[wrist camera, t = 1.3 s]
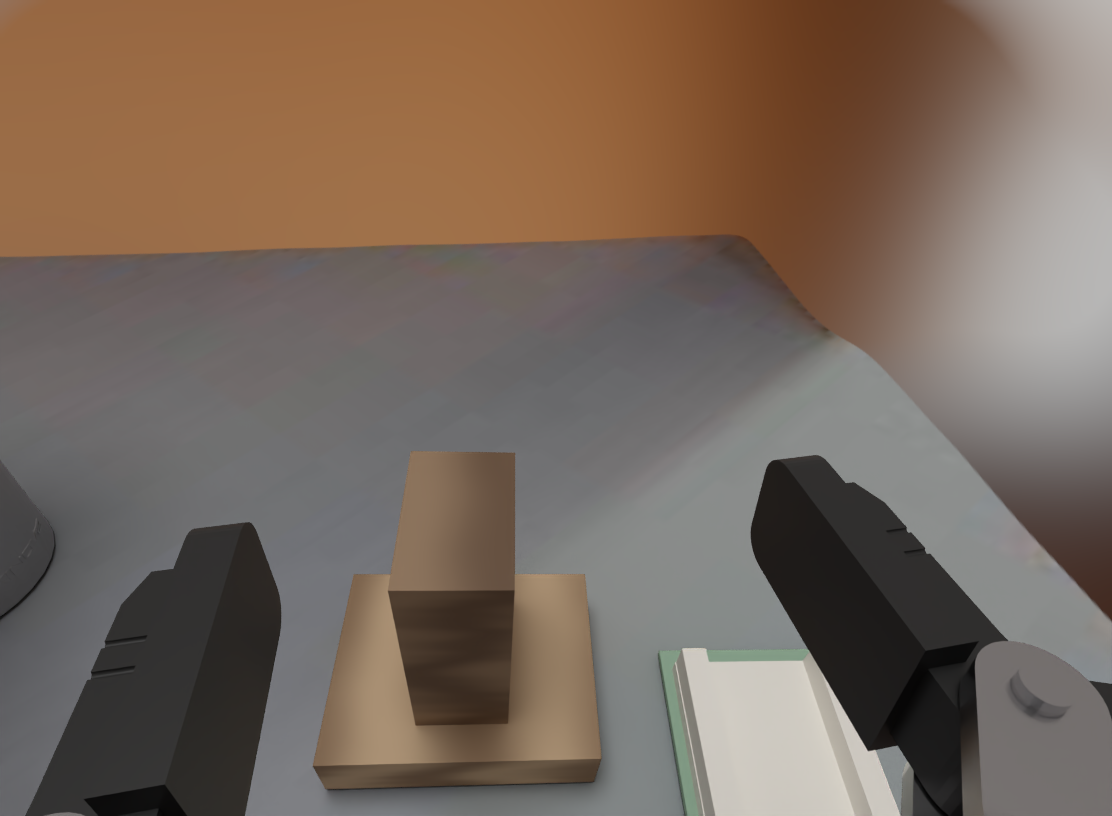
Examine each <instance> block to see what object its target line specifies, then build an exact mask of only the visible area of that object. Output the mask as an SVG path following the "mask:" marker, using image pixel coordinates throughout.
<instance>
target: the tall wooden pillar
mask: <svg viewBox="0 0 1112 816" xmlns="http://www.w3.org/2000/svg"><path fill="white" fill-rule="evenodd" d="M388 594H389V599H390V604H391V609H392V614H393V619H394V623H395V628H396V633H397V638H398V643H399V648H400V652H401V657H402V662H403V667H404V672H405V677H406V682H407V686H408V691H409V696H410V701H411V706H412V711H413V715H414V720H415V725H416V726H425V725H474V724H508V714H509V694H510V674H511V655H512V635H513V615H514V595H515V453H495V452H428V451H411V454H410V460H409V466H408V472H407V478H406V484H405V490H404V496H403V502H402V508H401V514H400V520H399V526H398V532H397V538H396V544H395V550H394V556H393V562H392V568H391V574H390V580H389V586H388Z"/></svg>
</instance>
